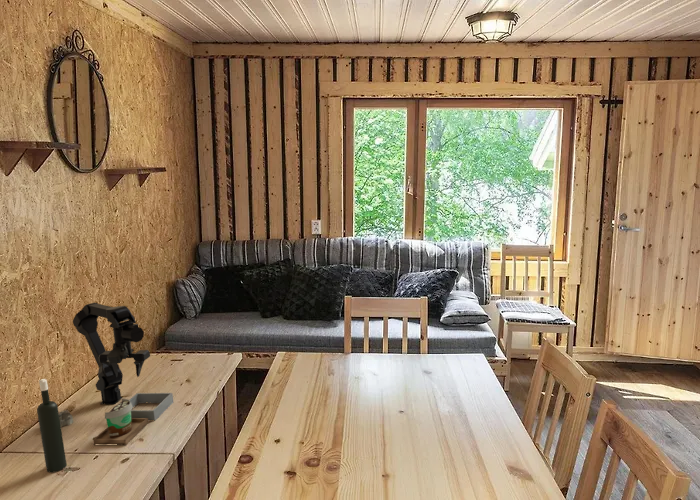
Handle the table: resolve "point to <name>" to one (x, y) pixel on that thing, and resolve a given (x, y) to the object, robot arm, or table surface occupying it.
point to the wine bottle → (50, 431)
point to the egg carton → (65, 418)
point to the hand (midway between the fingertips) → (127, 376)
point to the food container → (119, 419)
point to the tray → (125, 439)
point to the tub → (161, 398)
